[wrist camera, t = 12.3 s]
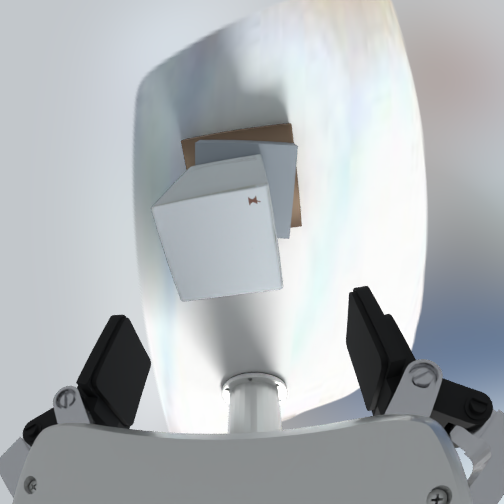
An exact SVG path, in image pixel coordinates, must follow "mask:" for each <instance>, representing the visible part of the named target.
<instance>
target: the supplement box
mask: <svg viewBox="0 0 504 504" xmlns="http://www.w3.org/2000/svg"><path fill="white" fill-rule="evenodd" d="M151 210H152V214H153V217H154V220H155V224H156V227H157V231H158V234H159V237H160V240H161V244H162V247H163V250H164V253H165V256H166V259H167V262H168V265H169V268H170V271H171V274H172V276H173V279H174V282H175V285H176V288H177V290H178V293H179V296H180V299H181V301H192V300H200V299H208V298H216V297H224V296H231V295H238V294H247V293H256V292H264V291H272V290H280V289H282V288H283V281H282V273H281V264H280V256H279V247H278V240H277V233H276V226H275V220H274V213H273V207H272V201H271V196H270V190H269V184H268V180H267V176H266V172H265V168H264V164H263V161H262V156H261V154H258V155H251V156H245V157H239V158H233V159H227V160H222V161H216V162H211V163H205V164H201V165H196V166H191V167H190V168H189V169H188V170H187V171H186V172H185V173H184V174H183V175H182V176H181V177H180V178H179V179H178V180H177V181H176V182H175V183H174V184H173V185H172V186H171V187H170V188H169V189H168V190H167V191H166V192H165V193H164V194H163V195H162V197H161V198H160V199H159V200H158V201H157V202H156V203H155V204H154V205H153V206H152V207H151Z"/></svg>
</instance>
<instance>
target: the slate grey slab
mask: <svg viewBox="0 0 504 504" xmlns="http://www.w3.org/2000/svg"><path fill="white" fill-rule="evenodd" d="M297 149H298V146H297V145H295V144H294V143H287V142H272V141H252V140H199V141H197V142H195V166H196V165H201V164H205V163H211V162H216V161H222V160H227V159H233V158H239V157H245V156H251V155H258V154H261V156H262V161H263V164H264V168H265V172H266V176H267V180H268V184H269V190H270V196H271V201H272V207H273V213H274V220H275V226H276V233H277V238H288V239H289V236H290V227H291V217H292V207H293V196H294V185H295V173H296V161H297Z"/></svg>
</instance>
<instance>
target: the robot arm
mask: <svg viewBox="0 0 504 504" xmlns="http://www.w3.org/2000/svg"><path fill="white" fill-rule="evenodd" d="M346 345H347V349H348V352H349V355H350V358H351V361H352V364H353V367H354V370H355V373H356V376H357V379H358V382H359V386H360V389H361V392H362V395H363V398H364V402H365V405H366V408H367V410H368V411H370V410H372V413H373V416H370V417H365V418H359V419H353V420H348V421H343V422H338V423H331V424H325V425H318V426H311V427H305V428H297V429H289V430H282V425H281V412H280V403H281V402H282V401H283V400H284V399H285V398H286V396H287V388H286V385H285V383H284V382H283V381H282V380H280V379H279V378H277V377H275V376H273V375H269V374H264V373H246V374H241V375H237V376H235V377H233V378H231V379H229V380H228V381H226V383H225V384H224V385H223V388H222V396H223V398H224V400H225V401H226V402H227V403H229V419H228V434H187V433H166V432H152V431H142V430H132V429H129V428H130V426H131V425H132V424H133V423H134V419H135V416H136V412H137V409H138V405H139V402H140V398H141V395H142V392H143V389H144V386H145V382H146V379H147V376H148V373H149V370H150V366H151V361H150V358H149V356H148V355H147V353H146V351H145V349H144V347H143V345H142V343H141V342H140V340H139V337H138V335H137V334H136V332H135V330H134V327H133V325H132V324H131V321H130V320H129V318H126V316H125V315H113V316H111V317H110V319H109V321H108V323H107V324H106V326H105V328H104V330H103V332H102V334H101V335H100V337H99V339H98V341H97V343H96V345H95V346H94V348H93V350H92V352H91V354H90V356H89V358H88V360H87V362H86V364H85V366H84V368H83V370H82V372H81V374H80V376H79V378H78V380H77V382H76V383H77V384H78V387H77V388H76V387H73V386H66V387H64V388H62V389H60V390H59V391H58V392H57V393H56V395H55V397H54V399H53V406H54V407H53V408H52V409H50V410H48V411H47V412H45V413H43V414H42V415H40V416H38V417H36V418H35V419H33V420H32V421H30V422H29V423H27V425H26V426H25V428H24V430H23V439H22V438H21V437H20V438H19V439H18V440H17V441H16V442H15V443H14V444H13V445H12V446H11V447H10V448H9V449H8V450H7V451H6V452H5V453H4V454H3V455H2V456H1V457H0V475H1V477H2V479H3V481H4V482H5V484H6V486H7V488H8V490H9V491H10V493H11V495H12V496H13V498H14V500H13V504H497V503H498V502H499V501H500V499H501V498H502V496H503V495H504V413H503V412H502V411H500V410H498V411H497V412H496V411H495V410H493V405H492V401H491V400H490V398H489V397H488V396H487V395H486V394H484V393H482V392H480V391H477V390H474V389H471V388H468V387H465V386H463V385H460V384H456V383H454V382H451V381H449V380H446V379H443V378H442V371H441V369H440V367H439V366H438V365H437V364H436V363H434V362H432V361H430V360H425V359H421V360H416V359H415V358H414V356H413V354H412V352H411V350H410V348H409V346H408V344H407V342H406V340H405V339H404V337H403V335H402V333H401V331H400V329H399V328H398V326H397V324H396V322H395V321H394V319H393V317H392V316H391V315H390V314H386V315H384V314H383V312H382V310H381V308H380V306H379V305H378V303H377V301H376V299H375V298H374V296H373V294H372V292H371V290H370V289H369V287H368V286H364V287H358V288H354V290H353V292H350V293H349V305H348V322H347V335H346ZM458 447H460V448H461V449H463V450H464V451H465V455H466V456H467V457H469V458H470V459H471V461H472V463H473V472H472V474H471V475H470V477H469V479H468V480H467V479H466V475H465V472H464V469H463V467H462V464H461V461H460V458H459V456H458V453H457V451H456V449H455V448H458ZM430 491H431V492H430Z"/></svg>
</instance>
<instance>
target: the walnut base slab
mask: <svg viewBox="0 0 504 504" xmlns="http://www.w3.org/2000/svg"><path fill="white" fill-rule="evenodd" d="M199 140H252V141H272V142H287V143H294V142H293V133H292V125H291V124H290V123H286V124H277V125H268V126H260V127H252V128H245V129H239V130H232V131H226V132H220V133H214V134H209V135H203V136H198V137H193V138H188V139H184V140H182V141H181V144H182V149H183V154H184V159H185V164H186V169H187V170H188V169H189V168H190V167H191V166H195V142H197V141H199ZM299 226H302V223H301V211H300V199H299V189H298V178H297V169H296V173H295V185H294V196H293V207H292V217H291V227H299ZM291 227H290V228H291Z"/></svg>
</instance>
